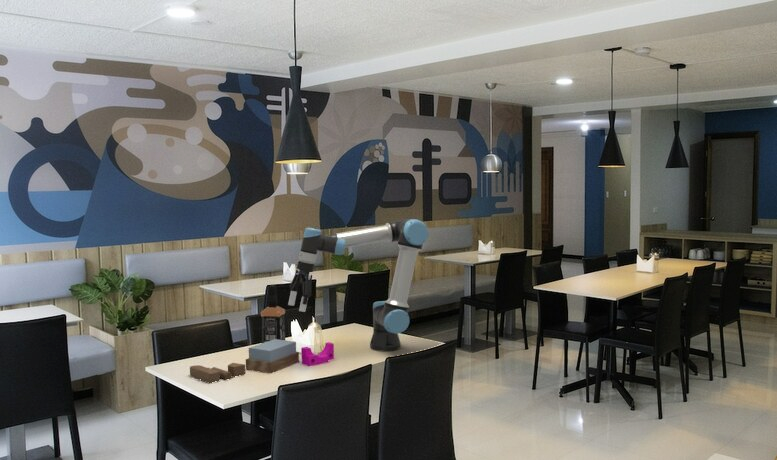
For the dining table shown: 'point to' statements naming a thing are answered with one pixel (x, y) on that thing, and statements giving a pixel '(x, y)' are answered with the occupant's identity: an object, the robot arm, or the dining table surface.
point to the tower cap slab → (272, 350)
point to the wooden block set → (217, 372)
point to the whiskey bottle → (273, 318)
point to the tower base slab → (272, 364)
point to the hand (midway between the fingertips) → (296, 308)
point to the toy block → (320, 358)
